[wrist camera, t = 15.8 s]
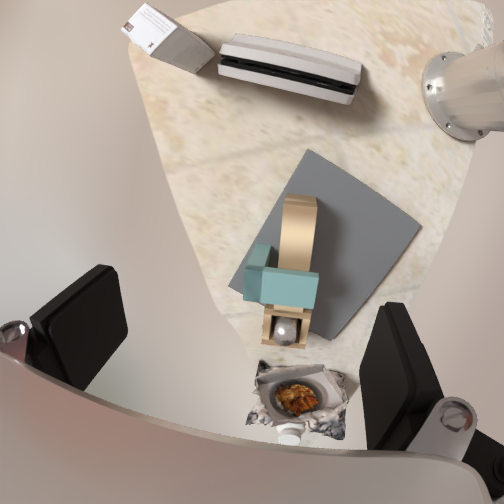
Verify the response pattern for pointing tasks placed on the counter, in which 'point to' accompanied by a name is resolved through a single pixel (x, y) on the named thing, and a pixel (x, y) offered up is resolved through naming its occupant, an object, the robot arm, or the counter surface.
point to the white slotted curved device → (290, 67)
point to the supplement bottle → (290, 433)
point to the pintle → (285, 330)
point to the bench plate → (339, 240)
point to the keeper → (277, 282)
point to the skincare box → (167, 39)
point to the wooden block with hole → (293, 263)
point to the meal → (300, 398)
